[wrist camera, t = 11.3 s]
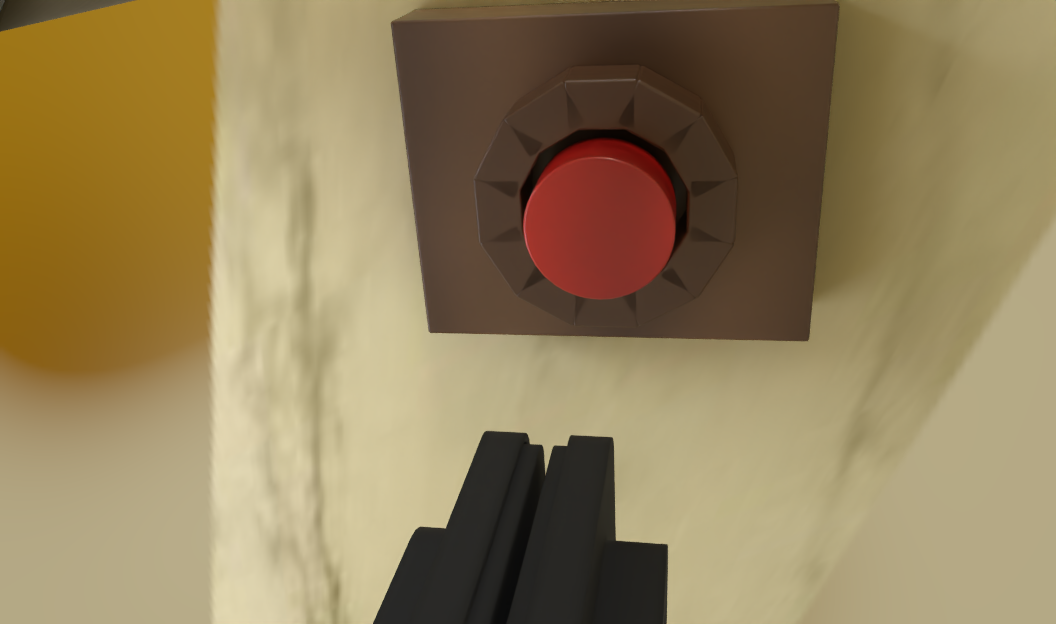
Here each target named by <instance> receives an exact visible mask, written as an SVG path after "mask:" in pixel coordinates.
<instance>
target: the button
mask: <svg viewBox="0 0 1056 624" xmlns="http://www.w3.org/2000/svg"><path fill="white" fill-rule="evenodd" d="M523 232H524V239H525V243H526V247H527V250H528V252H529V254H530V257H531V259H532V260H533V262H534V264H535V265H536V267H537V268H538V269H539V270H540V272H541V273H542V274H543V275H544V276H545V277H546V278H547V279H548V280H549V281H551V282H552V283H553V284H554V285H556V286H557V287H559V288H561V289H562V290H564V291H566V292H568V293H571V294H573V295H576V296H580V297H584V298H589V299H599V300H601V299H613V298H619V297H622V296H626V295H629V294H631V293H634V292H636V291H638V290H640V289H641V288H643V287H645V286H646V285H647V284H649V283H650V282H651V281H652V280H653V279H654V278H655V277H656V276H657V275H658V274H659V273H660V272H661V271H662V269H663V268H664V267H665V265H666V263H667V261H668V260H669V258H670V255H671V252H672V250H673V246H674V242H675V232H676V196H675V191H674V188H673V185H672V182H671V179H670V178H669V176H668V174H667V172H666V170H665V169H664V168H663V166H662V165H661V164H660V163H659V161H658V160H657V159H656V158H655V157H654V156H652V155H651V154H650V153H649V152H648V151H646V150H644V149H643V148H641V147H640V146H637V145H635V144H633V143H631V142H628V141H625V140H621V139H616V138H605V137H601V138H591V139H587V140H582V141H580V142H577V143H574V144H572V145H570V146H568V147H566V148H565V149H563V150H562V151H561V152H559V153H558V154H557V155H556V156H555V157H553V158H552V159H551V161H550V162H549V163H548V164H547V165H546V167H545V168H544V170H543V171H542V173H541V175H540V177H539V179H538V181H537V183H536V185H535V187H534V189H533V191H532V193H531V196H530V198H529V200H528V202H527V205H526V209H525V213H524V220H523Z"/></svg>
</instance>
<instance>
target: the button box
mask: <svg viewBox="0 0 1056 624" xmlns="http://www.w3.org/2000/svg"><path fill="white" fill-rule="evenodd" d="M839 7H840V6H839V4H838V3H837V2H836V1H835V0H633V1H609V2H585V3H562V4H538V5H514V6H491V7H467V8H443V9H420V10H414V11H412V12H410V13H408V14H406V15H404V16H402V17H400V18H398V19H396V20H394V21H392V22H391V28H392V36H393V44H394V53H395V61H396V69H397V77H398V85H399V93H400V101H401V110H402V118H403V126H404V134H405V142H406V150H407V158H408V167H409V175H410V183H411V191H412V199H413V207H414V215H415V223H416V232H417V240H418V248H419V256H420V264H421V272H422V280H423V289H424V297H425V305H426V313H427V321H428V329H429V332H430V333H466V334H510V335H554V336H598V337H642V338H686V339H730V340H773V341H808V340H809V334H810V323H811V312H812V301H813V290H814V279H815V269H816V258H817V247H818V236H819V225H820V214H821V203H822V192H823V181H824V170H825V160H826V149H827V138H828V127H829V116H830V105H831V94H832V83H833V72H834V61H835V51H836V40H837V29H838V18H839ZM601 137H605V138H616V139H621V140H625V141H628V142H631V143H633V144H635V145H637V146H640V147H641V148H643V149H644V150H646V151H648V152H649V153H650V154H651V155H652V156H654V157H655V158H656V159H657V160H658V161H659V163H660V164H661V165H662V166H663V168H664V169H665V170H666V172H667V174H668V176H669V178H670V179H671V182H672V185H673V188H674V191H675V196H676V232H675V242H674V246H673V250H672V252H671V255H670V258H669V260H668V261H667V263H666V265H665V267H664V268H663V269H662V271H661V272H660V273H659V274H658V275H657V276H656V277H655V278H654V279H653V280H652V281H651V282H650V283H649V284H647V285H646V286H645V287H643V288H641V289H640V290H638V291H636V292H634V293H631V294H629V295H626V296H622V297H619V298H613V299H601V300H599V299H589V298H584V297H580V296H576V295H573V294H571V293H568V292H566V291H564V290H562V289H561V288H559V287H557V286H556V285H554V284H553V283H552V282H551V281H549V280H548V279H547V278H546V277H545V276H544V275H543V274H542V273H541V272H540V270H539V269H538V268H537V267H536V265H535V264H534V262H533V260H532V259H531V257H530V254H529V252H528V250H527V247H526V243H525V239H524V232H523V220H524V213H525V209H526V205H527V202H528V200H529V198H530V196H531V193H532V191H533V189H534V187H535V185H536V183H537V181H538V179H539V177H540V175H541V173H542V171H543V170H544V168H545V167H546V165H547V164H548V163H549V162H550V161H551V159H552V158H553V157H555V156H556V155H557V154H558V153H559V152H561V151H562V150H563V149H565V148H566V147H568V146H570V145H572V144H574V143H577V142H580V141H582V140H587V139H591V138H601Z"/></svg>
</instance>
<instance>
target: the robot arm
mask: <svg viewBox="0 0 1056 624" xmlns="http://www.w3.org/2000/svg"><path fill="white" fill-rule="evenodd" d="M667 576H668V545H667V544H653V543H639V542H625V541H616V534H615V482H614V443H613V438H612V437H595V436H575V435H571V436H570V438H569V441H568V446H554V447H553V449H552V453H551V457H550V460H549V464H548V468H547V472H546V476H545V463H544V450H543V446H542V445H534V444H530V443H529V438H528V435H527V433H515V432H496V431H486V432H484V434H483V436H482V438H481V440H480V443H479V446H478V448H477V451H476V453H475V456H474V458H473V461H472V463H471V466H470V468H469V471H468V473H467V476H466V478H465V481H464V484H463V486H462V489H461V491H460V494H459V496H458V499H457V501H456V504H455V506H454V509H453V511H452V514H451V516H450V519H449V522H448V524H447V527H446V529H445V528H431V527H419V528H418V529H416V530H415V532H414V534H413V535H412V537H411V539H410V541H409V543H408V546H407V548H406V550H405V552H404V555H403V557H402V559H401V561H400V564H399V566H398V568H397V570H396V573H395V575H394V577H393V579H392V582H391V584H390V586H389V589H388V591H387V593H386V595H385V598H384V600H383V602H382V604H381V607H380V609H379V611H378V613H377V616H376V618H375V620H374V622H373V624H666V623H667Z"/></svg>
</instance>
